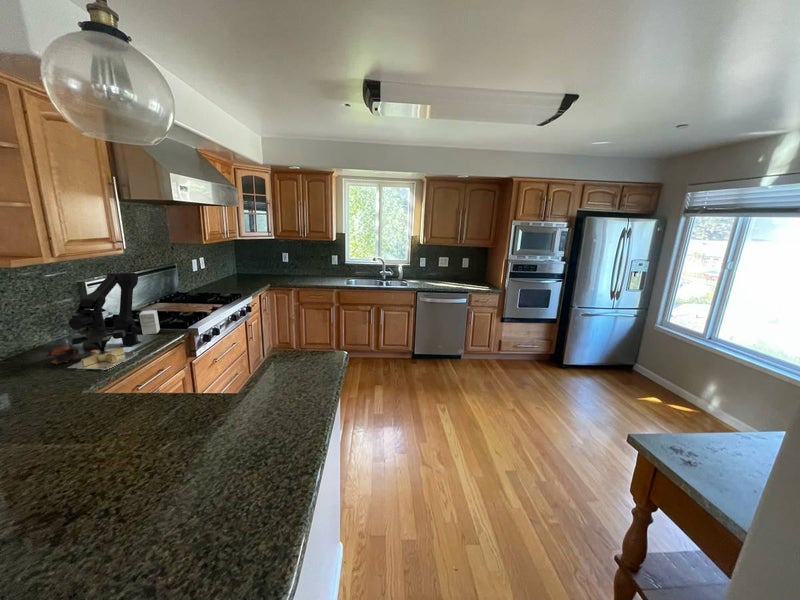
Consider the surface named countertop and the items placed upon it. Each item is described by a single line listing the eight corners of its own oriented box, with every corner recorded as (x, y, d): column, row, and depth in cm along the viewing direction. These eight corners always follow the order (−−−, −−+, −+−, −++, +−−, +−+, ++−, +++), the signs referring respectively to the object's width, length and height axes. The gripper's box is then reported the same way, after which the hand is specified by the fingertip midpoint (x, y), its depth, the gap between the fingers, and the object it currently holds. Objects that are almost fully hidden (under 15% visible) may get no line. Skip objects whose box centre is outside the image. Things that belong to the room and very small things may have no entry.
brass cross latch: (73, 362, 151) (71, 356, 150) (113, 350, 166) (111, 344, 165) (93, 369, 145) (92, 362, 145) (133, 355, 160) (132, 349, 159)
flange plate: (101, 353, 165) (101, 350, 164) (138, 354, 165) (137, 351, 164) (66, 370, 147) (65, 366, 147) (107, 371, 147) (106, 367, 147)
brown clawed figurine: (44, 368, 150) (39, 351, 150) (58, 368, 158) (53, 352, 159) (75, 358, 154) (70, 341, 154) (88, 358, 162) (83, 343, 163)
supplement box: (145, 330, 197) (142, 310, 194) (160, 329, 200) (157, 309, 197) (142, 334, 191) (138, 314, 188) (157, 333, 194) (154, 313, 191)
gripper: (63, 331, 144) (71, 363, 148) (117, 324, 153) (124, 355, 157) (71, 324, 153) (79, 354, 157) (122, 318, 163) (128, 347, 166)
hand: (103, 353), depth 159 cm, fingers closed
